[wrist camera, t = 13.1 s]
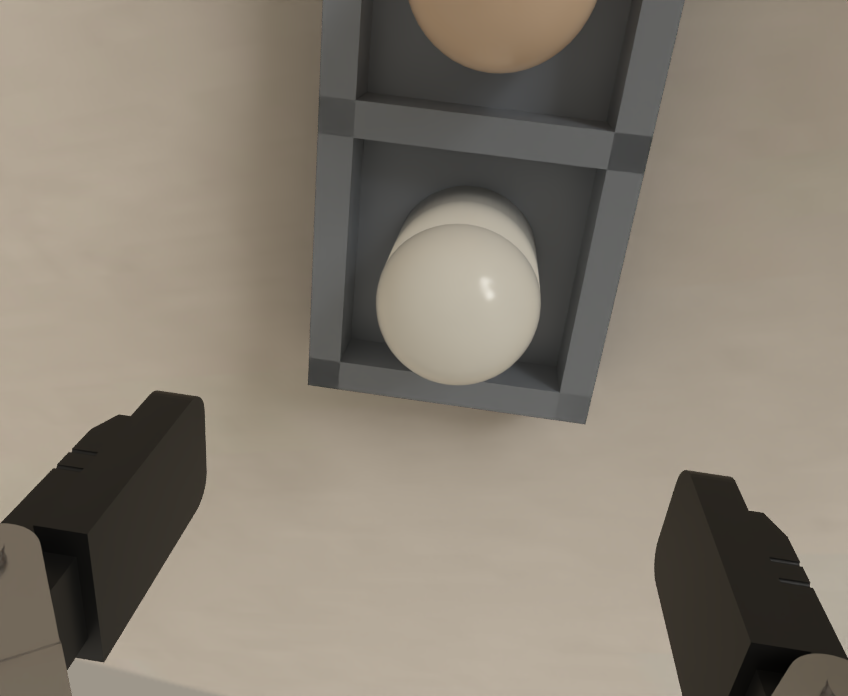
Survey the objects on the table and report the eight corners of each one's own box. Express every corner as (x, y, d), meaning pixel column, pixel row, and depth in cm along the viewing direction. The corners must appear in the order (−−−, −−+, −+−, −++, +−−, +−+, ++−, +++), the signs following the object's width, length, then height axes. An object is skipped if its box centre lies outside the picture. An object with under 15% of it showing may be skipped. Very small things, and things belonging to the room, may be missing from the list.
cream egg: (403, 177, 23) (368, 240, 17) (546, 194, 22) (559, 263, 17) (392, 309, 24) (357, 404, 19) (524, 326, 24) (528, 427, 19)
